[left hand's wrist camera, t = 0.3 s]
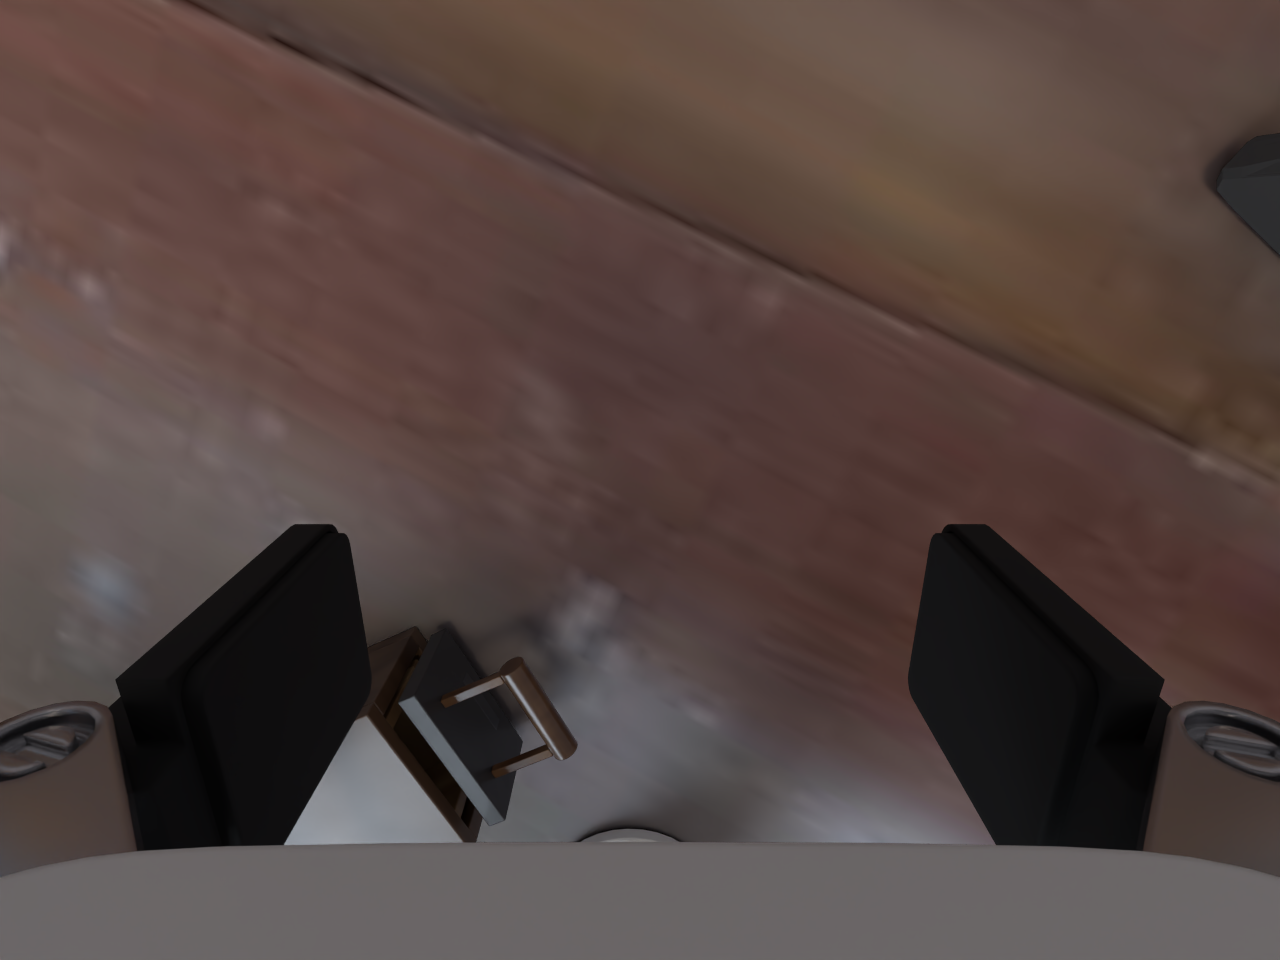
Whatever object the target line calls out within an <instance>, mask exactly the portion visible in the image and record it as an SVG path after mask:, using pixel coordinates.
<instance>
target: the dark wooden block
mask: <svg viewBox="0 0 1280 960" xmlns="http://www.w3.org/2000/svg"><path fill="white" fill-rule="evenodd" d="M426 645H427V642H426V640H425V639H424V637H423V636H422V635H421V633H420V632H419V630H418V629H417V627H413V628H411V629H409V630H407V631H404V632H402V633H400V634H397V635H395V636H393V637H391V638H388V639H386V640H384V641H382V642H379V643H377V644H375V645H373V646H370V647H368V648H367V649H368V655H369V661H370V667H371V674H372V684H371V690H370V693H369V696H368V698H367V700H366V702H365V704H364V706H363V707H362V709H361V711H360V713H359V714H358V716H357V718H356V720H355V721H354V723H353V725H352V727H351V728H350V730H349V732H348V734H347V735H346V737H345V739H344V741H343V742H342V744H341V746H340V748H339V749H338V751H337V753H336V755H335V756H334V758H333V760H332V762H331V763H330V765H329V767H328V769H327V770H326V772H325V774H324V776H323V777H322V779H321V781H320V783H319V784H318V786H317V788H316V790H315V791H314V793H313V795H312V797H311V798H310V800H309V802H308V804H307V805H306V807H305V809H304V811H303V812H302V814H301V816H300V818H299V819H298V821H297V823H296V825H295V826H294V828H293V830H292V832H291V833H290V835H289V837H288V839H287V840H286V842H285V844H284V845H322V844H373V843H476V841H477V840H476V839H477V837H478V833H479V830H480V826H481V822H482V818H483V817H482V816H481V814H480V813H479V812H478V810H477V809H476V808H475V806H474V805H473V804H472V802H471V801H470V800H469V798H468V797H467V799H466V802H465V805H464V809H463V812H462V815H461V818H460V817H459V815H458V814H457V813H456V811H455V810H454V809H453V807H452V806H451V805H450V803H449V802H448V801H447V799H446V798H445V797H444V795H443V794H442V793H441V791H440V790H439V789H438V788H437V786H436V785H435V784H434V782H433V781H432V780H431V778H430V777H429V776H428V774H427V773H426V772H425V770H424V769H423V768H422V766H421V765H420V764H419V762H418V761H417V760H416V758H415V757H414V756H413V754H412V753H411V752H410V751H409V749H408V748H407V747H406V745H405V744H404V743H403V741H402V740H401V739H400V737H399V736H398V735H397V733H396V732H395V731H394V729H393V728H392V727H391V725H390V724H389V723H388V721H387V720H386V719H385V717H384V716H383V715H384V714H385V712H386V710H387V708H388V706H389V704H390V702H391V700H392V698H393V696H394V695H395V693H396V691H397V689H398V687H399V685H400V683H401V681H402V679H403V677H404V675H405V673H406V671H407V669H408V668H409V666H410V664H411V662H412V661H413V660H415V659H417V660H418V661H419V659H420V657H421V655H422V653H423V651H424V649H425V647H426Z"/></svg>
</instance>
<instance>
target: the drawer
mask: <svg viewBox="0 0 1280 960" xmlns="http://www.w3.org/2000/svg"><path fill="white" fill-rule="evenodd" d="M504 683H506V685H507V686H508V688H509V689H510V691H511V692H512V694H513V695H514V697H515V698H516V700H517V701H518V703H519V704H520V706H521V707H522V709H523V710H524V712H525V713H526V715H527V716H528V718H529V719H530V721H531V722H532V724H533V725H534V727H535V728H536V730H537V731H538V733H539V734H540V736H541V737H542V739H543V740H544V742H545V743H546V745H543V746H541V747H538V748H536V749H533V750H531V751H528V752H526V753H523V754H521V755H520V752H521V748H522V743H523V741H522V739H521V738H520V737H519V735H518V734H517V732H516V731H515V729H514V728H513V726H512V725H511V723H510V722H509V720H508V719H507V717H506V716H505V714H504V713H503V712H502V710H501V709H500V707H499V706H498V704H497V703H496V701H495V700H494V698H493V697H492V695H491V694H490V692H489V691H488V690H490V689H492V688H495V687H497V686H500V685H502V684H504ZM383 716H384V717H385V719H386V720H387V721H388V723H389V724H390V725H391V727H392V728H393V729H394V731H395V732H396V733H397V735H398V736H399V737H400V739H401V740H402V741H403V743H404V744H405V745H406V747H407V748H408V749H409V751H410V752H411V753H412V754H413V756H414V757H415V758H416V760H417V761H418V762H419V764H420V765H421V766H422V768H423V769H424V770H425V772H426V773H427V774H428V776H429V777H430V778H431V780H432V781H433V782H434V784H435V785H436V786H437V788H438V789H439V790H440V791H441V793H442V794H443V795H444V797H445V798H446V799H447V801H448V802H449V803H450V805H451V806H452V807H453V809H454V810H455V811H456V813H457V814H458V815H459V817H460V818H461V815H462V812H463V809H464V805H465V802H466V799H467V797H468V798H469V800H470V801H471V802H472V804H473V805H474V806H475V808H476V809H477V810H478V812H479V813H480V814H481V816H482V817H483V818H484V820H485V821H486V822H487V824H488V825H489V826H491V825H494V824H497V823H499V822H502V821H504V820H505V819H506V815H507V810H508V806H509V801H510V797H511V792H512V788H513V783H514V779H515V774H516V770H518V769H521V768H523V767H526V766H528V765H531V764H533V763H536V762H538V761H541V760H544V759H546V758H549V757H551V756H553V755H554V757H555V758H556V759H557V760H565V759H567V758H569V757H570V756H571V755H572V754H573V753H574V752H575V751H576V749H577V741H576V740H575V738H574V737H573V735H572V734H571V732H570V731H569V729H568V727H567V726H566V724H565V723H564V721H563V720H562V718H561V717H560V715H559V714H558V712H557V710H556V709H555V707H554V706H553V704H552V703H551V701H550V700H549V698H548V696H547V695H546V693H545V692H544V690H543V689H542V687H541V686H540V684H539V682H538V681H537V679H536V678H535V676H534V675H533V673H532V672H531V670H530V669H529V667H528V665H527V664H526V662H525V661H524V659H523V658H522V657H515V658H513V659H511V660H509V661H508V662H506V663H505V664H504V665H503V666H502V668H501V669H500V671H499V672H497V673H495V674H492V675H490V676H487V677H485V678H483V679H480V678H479V676H478V675H477V673H476V672H475V670H474V669H473V667H472V666H471V664H470V663H469V661H468V660H467V659H466V657H465V656H464V654H463V653H462V651H461V650H460V648H459V647H458V645H457V644H456V642H455V641H454V639H453V638H452V636H451V635H450V633H449V632H448V631H447V629H444V630H442V631H440V632H437V633H435V634H433V635H431V637H430V639H429V641H428V643H427V645H426V647H425V649H424V651H423V653H422V655H421V657H420V659H419V661H418V660H417V659H415V660H413V661H412V662H411V664H410V666H409V668H408V669H407V671H406V673H405V675H404V677H403V679H402V681H401V683H400V685H399V687H398V689H397V691H396V693H395V695H394V696H393V698H392V700H391V702H390V704H389V706H388V708H387V710H386V712H385V714H384V715H383Z"/></svg>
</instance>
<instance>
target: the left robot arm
mask: <svg viewBox="0 0 1280 960" xmlns="http://www.w3.org/2000/svg"><path fill="white" fill-rule="evenodd" d="M116 683H117V686H118V689H119V692H120V696H121V697H120V698H119V699H118V700H117V701H115V702H114V703H113V704H112V705H111V706H110V707H109V708H108V707H107V706H104V705H102V704H99V703H97V702H90V701H72V702H64V703H56V704H52V705H48V706H45V707H41V708H37V709H34V710H30V711H28V712H25V713H23V714H20V715H18V716H15V717H12V718H10V719H7V720H5V721H3V722H1V723H0V960H1280V723H1279V722H1277V721H1275V720H1273V719H1270V718H1268V717H1265V716H1262V715H1260V714H1257V713H1255V712H1252V711H1250V710H1246V709H1243V708H1239V707H1235V706H1232V705H1228V704H1224V703H1216V702H1208V701H1190V702H1183V703H1181V704H1178V705H1176V706H1173V707H1172V708H1171V707H1170V706H1169V705H1168V704H1167V703H1166V702H1165V701H1163V700H1162V699H1161V698H1160V697H1159V696H1160V692H1161V689H1162V686H1163V683H1164V679H1163V678H1162V677H1161V676H1160V675H1159V674H1158V673H1156V672H1155V671H1154V670H1153V669H1152V668H1151V667H1150V666H1148V665H1147V664H1146V663H1145V662H1144V661H1143V660H1142V659H1140V658H1139V657H1138V656H1137V655H1136V654H1135V653H1133V652H1132V651H1131V650H1130V649H1129V648H1128V647H1127V646H1125V645H1124V644H1123V643H1122V642H1121V641H1120V640H1119V639H1117V638H1116V637H1115V636H1114V635H1113V634H1112V633H1111V632H1109V631H1108V630H1107V629H1106V628H1105V627H1104V626H1103V625H1101V624H1100V623H1099V622H1098V621H1097V620H1096V619H1095V618H1093V617H1092V616H1091V615H1090V614H1089V613H1088V612H1087V611H1085V610H1084V609H1083V608H1082V607H1081V606H1080V605H1078V604H1077V603H1076V602H1075V601H1074V600H1073V599H1072V598H1070V597H1069V596H1068V595H1067V594H1066V593H1065V592H1064V591H1062V590H1061V589H1060V588H1059V587H1058V586H1057V585H1056V584H1054V583H1053V582H1052V581H1051V580H1050V579H1049V578H1048V577H1046V576H1045V575H1044V574H1043V573H1042V572H1041V571H1040V570H1038V569H1037V568H1036V567H1035V566H1034V565H1033V564H1031V563H1030V562H1029V561H1028V560H1027V559H1026V558H1025V557H1023V556H1022V555H1021V554H1020V553H1019V552H1018V551H1017V550H1015V549H1014V548H1013V547H1012V546H1011V545H1010V544H1009V543H1007V542H1006V541H1005V540H1004V539H1003V538H1002V537H1001V536H999V535H998V534H997V533H996V532H995V531H994V530H993V529H991V528H990V527H989V526H987V525H985V524H949V525H947V526H946V527H944V529H943V531H942V533H935V534H934V535H933V537H932V539H931V542H930V547H929V553H928V559H927V565H926V571H925V577H924V583H923V589H922V595H921V601H920V607H919V613H918V619H917V625H916V631H915V637H914V643H913V649H912V655H911V661H910V667H909V674H908V684H909V690H910V694H911V696H912V698H913V700H914V702H915V704H916V706H917V707H918V709H919V711H920V713H921V714H922V716H923V718H924V720H925V721H926V723H927V725H928V727H929V728H930V730H931V732H932V734H933V735H934V737H935V739H936V741H937V742H938V744H939V746H940V748H941V749H942V751H943V753H944V755H945V756H946V758H947V760H948V762H949V763H950V765H951V767H952V769H953V770H954V772H955V774H956V776H957V777H958V779H959V781H960V783H961V784H962V786H963V788H964V790H965V791H966V793H967V795H968V797H969V798H970V800H971V802H972V804H973V805H974V807H975V809H976V811H977V812H978V814H979V816H980V818H981V819H982V821H983V823H984V825H985V826H986V828H987V830H988V832H989V833H990V835H991V837H992V839H993V840H994V842H995V844H996V845H958V844H907V843H777V842H678V841H677V840H675V839H673V838H671V837H668V836H666V835H663V834H660V833H657V832H653V831H648V830H643V829H619V830H611V831H607V832H603V833H599V834H596V835H594V836H591V837H589V838H586V839H584V840H583V841H581V842H503V843H373V844H322V845H284V844H285V842H286V840H287V839H288V837H289V835H290V833H291V832H292V830H293V828H294V826H295V825H296V823H297V821H298V819H299V818H300V816H301V814H302V812H303V811H304V809H305V807H306V805H307V804H308V802H309V800H310V798H311V797H312V795H313V793H314V791H315V790H316V788H317V786H318V784H319V783H320V781H321V779H322V777H323V776H324V774H325V772H326V770H327V769H328V767H329V765H330V763H331V762H332V760H333V758H334V756H335V755H336V753H337V751H338V749H339V748H340V746H341V744H342V742H343V741H344V739H345V737H346V735H347V734H348V732H349V730H350V728H351V727H352V725H353V723H354V721H355V720H356V718H357V716H358V714H359V713H360V711H361V709H362V707H363V706H364V704H365V702H366V700H367V698H368V696H369V693H370V690H371V684H372V674H371V667H370V661H369V655H368V649H367V643H366V637H365V631H364V625H363V619H362V613H361V607H360V601H359V595H358V589H357V583H356V577H355V571H354V565H353V559H352V553H351V547H350V542H349V539H348V537H347V535H346V534H345V533H338V531H337V529H336V527H334V526H333V525H331V524H295V525H293V526H291V527H290V528H289V529H287V530H286V531H285V532H284V533H283V534H282V535H281V536H279V537H278V538H277V539H276V540H275V541H274V542H273V543H271V544H270V545H269V546H268V547H267V548H266V549H265V550H263V551H262V552H261V553H260V554H259V555H258V556H257V557H255V558H254V559H253V560H252V561H251V562H250V563H249V564H247V565H246V566H245V567H244V568H243V569H242V570H240V571H239V572H238V573H237V574H236V575H235V576H234V577H232V578H231V579H230V580H229V581H228V582H227V583H226V584H224V585H223V586H222V587H221V588H220V589H219V590H218V591H216V592H215V593H214V594H213V595H212V596H211V597H210V598H208V599H207V600H206V601H205V602H204V603H203V604H202V605H200V606H199V607H198V608H197V609H196V610H195V611H193V612H192V613H191V614H190V615H189V616H188V617H187V618H185V619H184V620H183V621H182V622H181V623H180V624H179V625H177V626H176V627H175V628H174V629H173V630H172V631H171V632H169V633H168V634H167V635H166V636H165V637H164V638H163V639H161V640H160V641H159V642H158V643H157V644H156V645H155V646H153V647H152V648H151V649H150V650H149V651H148V652H146V653H145V654H144V655H143V656H142V657H141V658H140V659H138V660H137V661H136V662H135V663H134V664H133V665H132V666H130V667H129V668H128V669H127V670H126V671H125V672H124V673H122V674H121V675H120V676H119V677H118V678H117V679H116Z"/></svg>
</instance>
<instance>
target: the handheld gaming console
mask: <svg viewBox="0 0 1280 960" xmlns="http://www.w3.org/2000/svg"><path fill="white" fill-rule="evenodd" d="M1217 191H1218V192H1219V193H1220V194H1221V196H1222V197H1223V198H1224V199H1225V200H1226V201H1227V203H1228V204H1229V205H1230V206H1231V207H1232V208H1233V210H1234V211H1235V212H1236V213H1237V214H1238V215H1239V216H1240V217H1241V218H1242V219H1243V220H1245V221H1246V222H1247V223H1248V224H1249V225H1250V226H1251V227H1252V228H1253V229H1254V230H1255V231H1256V232H1257V233H1258V234H1259V235H1260V236H1261V237H1262V238H1263V239H1264V240H1265V241H1266V242H1267V243H1268V244H1269V245H1270V246H1271V247H1272V248H1273V249H1274V250H1275V251H1276V252H1277V253H1278V254H1279V255H1280V133H1277V134H1270V135H1263V136H1257V137H1255V138H1253V139H1252V140H1250V141H1248V142H1247V143H1246V144H1245V145H1244V146H1243V147H1242V148H1241V149H1240V151H1239V152H1238V153H1237V154H1236V155H1235V156H1234V157H1233V158H1232V159H1231V160H1230V161H1229V162H1228V163H1227V165H1226V166H1225V167H1224V168H1223V169H1222V171H1221V173H1220V175H1219V177H1218V179H1217Z"/></svg>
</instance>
